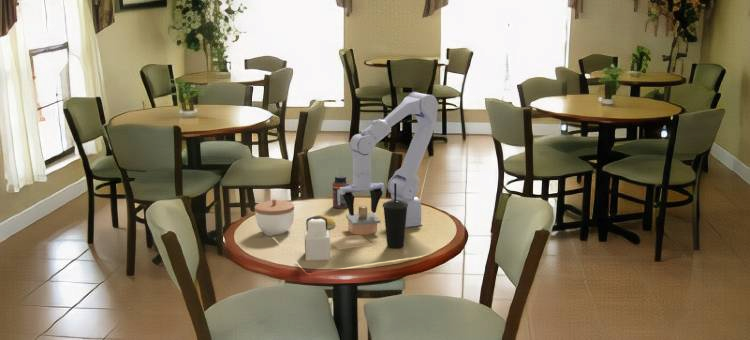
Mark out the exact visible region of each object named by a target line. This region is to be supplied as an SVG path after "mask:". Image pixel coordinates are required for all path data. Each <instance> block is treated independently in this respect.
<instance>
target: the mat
mask: <svg viewBox="0 0 750 340" xmlns="http://www.w3.org/2000/svg"><path fill="white" fill-rule="evenodd" d="M330 244H332V245H333V246H334V247H335V248H336V249H337V250H339V251H340V250H347V249H355V248H358V247H359V248H360V247H368V246H373V243H371V242H370V241H369V240H367V239H366V238H365V237H364V236H363V235H358V234H354V235H353V234H352V235H347V236H340V237H339V236H338V237H330Z"/></svg>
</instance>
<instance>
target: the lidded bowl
mask: <svg viewBox="0 0 750 340" xmlns="http://www.w3.org/2000/svg"><path fill="white" fill-rule="evenodd" d="M254 216H255V221H256V224H257V226H258V228H259V230H260V231H262V232H263V234H264V235H265V236H269V237H273V236H275V235H276V236H277V235H283V234H285V233H286V232H288V231H289V230H290V229H291V227H292V226H293V223H294V216H295V204H294V202H291V201H288V200H287V201H286V200H277V199H275V198H273V199H272V200H265V201H262V202H259V203H256V204H255V205H254Z"/></svg>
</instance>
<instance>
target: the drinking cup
mask: <svg viewBox="0 0 750 340" xmlns="http://www.w3.org/2000/svg"><path fill="white" fill-rule="evenodd" d="M407 207H408V203H406V202H403V201H401V200H396V183H394V200H392V199H391V200H388V201H385V202H382V208H383V215H384V226H385V235H386V245H387V248H388V249H392V250H394V249H395V250H399V249H402V248H404V245H405V244H404V243H405V235H406V227H405V225H406V214H407Z"/></svg>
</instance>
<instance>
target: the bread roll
mask: <svg viewBox="0 0 750 340" xmlns="http://www.w3.org/2000/svg"><path fill="white" fill-rule="evenodd" d="M315 216H320V217H324V218H326V219H327V230H328V231H330V230H332V229H335V227H336V221H335V220H334V219H333V218H331V217H327V216H326V215H323V214H318V215H314V216H313V217H315Z"/></svg>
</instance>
